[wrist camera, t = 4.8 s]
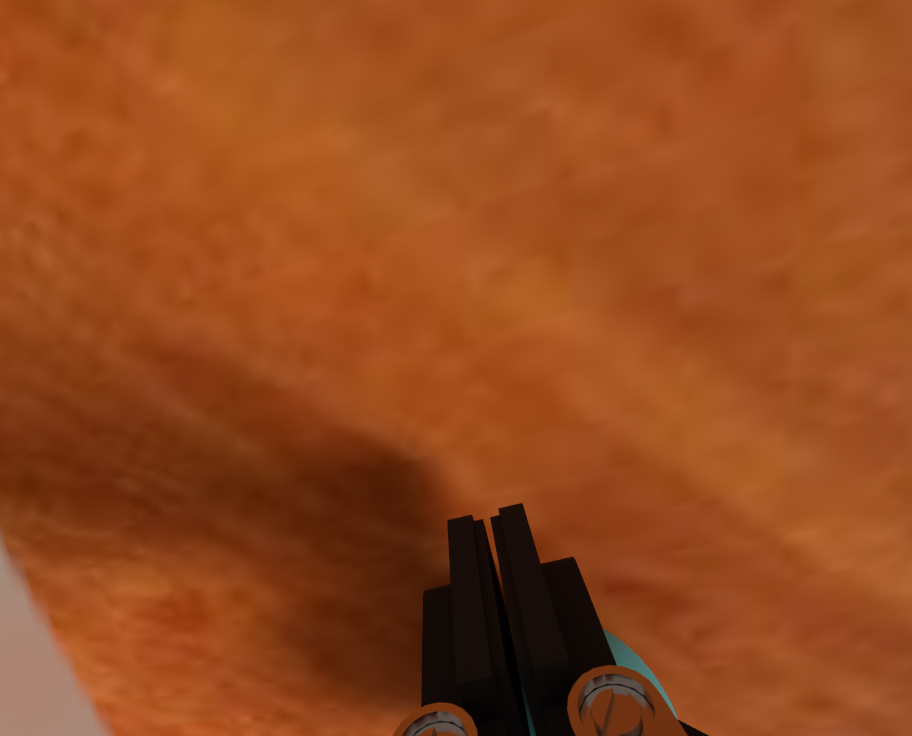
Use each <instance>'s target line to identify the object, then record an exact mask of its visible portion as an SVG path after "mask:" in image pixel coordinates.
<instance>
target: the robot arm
mask: <svg viewBox="0 0 912 736" xmlns="http://www.w3.org/2000/svg"><path fill="white" fill-rule="evenodd" d="M498 509H499V514H500V515H498V516H494V517H490V519H491V524H492V529H493V535H494V540H495V546H496V551H497V556H498V562H499V567H500V572H501V578H502V583H503V589H504V594H505V599H506V605H507V610H508V615H509V619H508V615H507V611H506V607H505V603H504V599H503V595H502V591H501V587H500V583H499V580H498V576H497V572H496V568H495V564H494V560H493V556H492V552H491V549H490V545H489V541H488V537H487V533H486V529H485V525H484V522H483V519H481V520H477V521H474V520H473V516H472V515H468V516H463V517H459V518H455V519H450V520H448V542H449V560H450V579H451V584H450V585H446V586H442V587H437V588H433V589H428V590H425V591H424V594H423V638H422V702H421V708H419V709H417V710H416V711H414V712H412V713H411V714H410V715H409V716H408V717H407V718H406V719H404V720H403V721H402V722H401V724H400V725H399V727H398V728H397V730H396V731H395V733H394V734H393V736H530V730H529V725H528V719H527V714H526V709H525V703H524V698H523V692H522V687H521V682H520V676H521V680H522V684H523V688H524V692H525V696H526V700H527V704H528V707H529V711H530V715H531V719H532V723H533V727H534V730H535V734H536V736H708V735H706V734H705V733H703V732H701V731H699V730H697V729H695V728H693V727H691V726H689V725H687V724H685V723H683V722H681V721H680V720H678V719H677V718H676V717H675V715H674V714H673V712H672V710H671V709H670V707H669V706H668V704H667V703H666V701H665V700H664V698H663V697H662V695H661V693H660V692H659V690H658V689H657V688H656V687H655V686H654V685H653V684H652V682H651V681H650V680H649V679H648V678H646V677H645V676H643V675H642V674H640V673H639V672H637V671H635V670H632V669H629V668H626V667H623V666H617V664H616V661H615V659H614V656H613V654H612V651H611V649H610V646H609V644H608V641H607V639H606V636H605V634H604V631H603V629H602V626H601V624H600V621H599V618H598V616H597V613H596V611H595V608H594V606H593V603H592V601H591V598H590V596H589V593H588V591H587V588H586V586H585V583H584V581H583V578H582V575H581V573H580V570H579V568H578V565H577V563H576V561H575V559H574V557H570V558H565V559H561V560H556V561H552V562H548V563H543V564H540V561H539V557H538V554H537V551H536V547H535V544H534V540H533V537H532V534H531V530H530V527H529V524H528V520H527V517H526V514H525V510H524V507H523V504H522V503H520V504H516V505H511V506H507V507H503V508H498ZM509 621H510V623H509ZM510 626H511V628H510ZM511 631H512V633H511ZM512 637H513V639H512ZM513 642H514V644H513ZM514 648H515V649H514ZM515 653H516V655H515ZM516 658H517V660H516ZM517 663H518V666H517ZM518 667H519V671H518ZM519 672H520V676H519Z"/></svg>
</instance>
